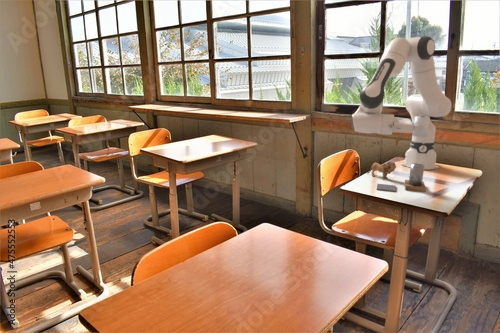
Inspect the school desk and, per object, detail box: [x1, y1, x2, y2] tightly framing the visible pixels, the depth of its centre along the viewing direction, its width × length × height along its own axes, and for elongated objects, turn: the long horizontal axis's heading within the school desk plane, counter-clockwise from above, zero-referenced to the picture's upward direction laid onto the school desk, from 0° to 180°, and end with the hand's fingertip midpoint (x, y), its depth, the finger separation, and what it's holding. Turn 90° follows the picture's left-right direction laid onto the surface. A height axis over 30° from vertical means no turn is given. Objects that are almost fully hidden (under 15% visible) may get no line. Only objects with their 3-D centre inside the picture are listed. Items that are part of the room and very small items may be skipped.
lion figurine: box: [366, 161, 397, 181], centre depth 187 cm, size 15×5×9 cm, turn 43°
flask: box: [408, 164, 425, 186], centre depth 169 cm, size 5×5×9 cm
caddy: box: [404, 179, 427, 193], centre depth 172 cm, size 10×8×4 cm
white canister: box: [412, 115, 429, 137], centre depth 164 cm, size 6×6×9 cm
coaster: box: [376, 183, 397, 193], centre depth 171 cm, size 8×8×1 cm
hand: (423, 126), depth 164 cm, fingers closed on white canister, 6 cm apart
